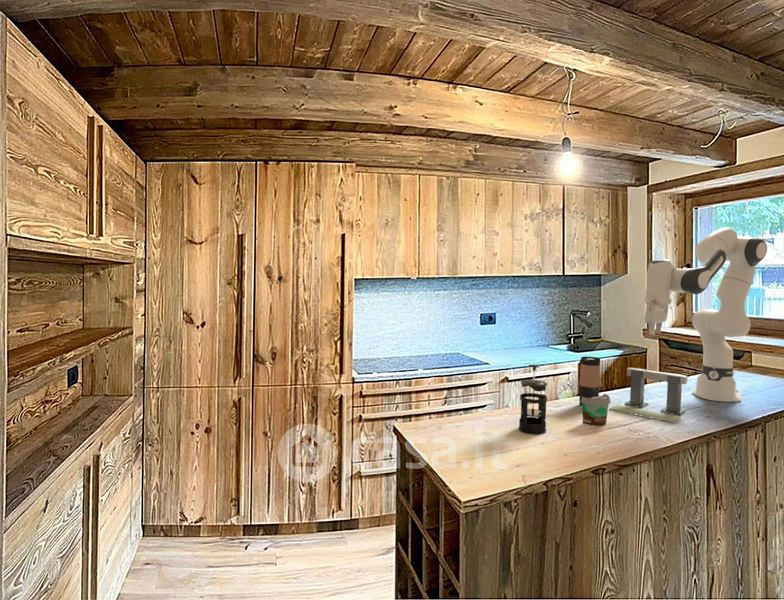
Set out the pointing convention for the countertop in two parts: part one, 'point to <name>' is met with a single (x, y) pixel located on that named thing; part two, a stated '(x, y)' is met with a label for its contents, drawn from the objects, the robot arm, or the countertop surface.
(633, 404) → the posts
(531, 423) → the french press
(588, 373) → the travel mug
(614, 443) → the countertop surface
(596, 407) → the food container
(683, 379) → the rail
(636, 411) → the mat
